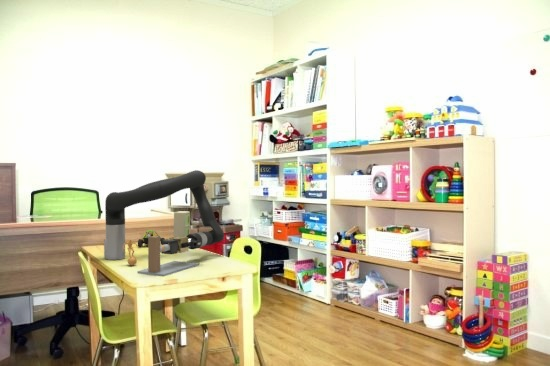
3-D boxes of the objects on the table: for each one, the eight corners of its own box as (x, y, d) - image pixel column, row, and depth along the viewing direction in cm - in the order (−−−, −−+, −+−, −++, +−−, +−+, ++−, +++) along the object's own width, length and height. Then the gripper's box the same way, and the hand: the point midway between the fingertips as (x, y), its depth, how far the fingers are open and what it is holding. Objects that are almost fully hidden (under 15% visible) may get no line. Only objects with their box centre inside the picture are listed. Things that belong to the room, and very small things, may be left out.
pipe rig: (137, 273, 199) (137, 236, 198) (174, 262, 223) (174, 229, 222) (163, 276, 193) (163, 238, 193) (198, 265, 217) (198, 231, 216)
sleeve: (169, 252, 213) (169, 238, 212) (177, 250, 218) (177, 236, 218) (180, 253, 210) (180, 239, 210) (188, 251, 215) (188, 237, 215)
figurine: (125, 267, 210) (125, 241, 210) (120, 265, 215) (119, 239, 215) (142, 265, 216) (142, 239, 216) (136, 263, 221) (136, 238, 220)
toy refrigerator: (185, 249, 259) (185, 212, 259) (173, 249, 261) (173, 212, 260) (191, 247, 267) (191, 211, 267) (179, 247, 269) (179, 211, 268)
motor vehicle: (164, 243, 283) (165, 226, 282) (156, 249, 263) (156, 230, 263) (146, 243, 283) (146, 226, 283) (136, 248, 264) (136, 230, 263)
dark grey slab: (161, 253, 207) (161, 240, 207) (166, 252, 211) (167, 239, 211) (172, 254, 205) (172, 241, 205) (177, 253, 208) (177, 240, 208)
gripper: (184, 232, 230) (163, 236, 215) (208, 233, 224) (188, 238, 209) (184, 247, 230) (163, 252, 215) (208, 249, 224) (188, 254, 209)
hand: (175, 245), depth 212 cm, fingers closed on sleeve, 6 cm apart
